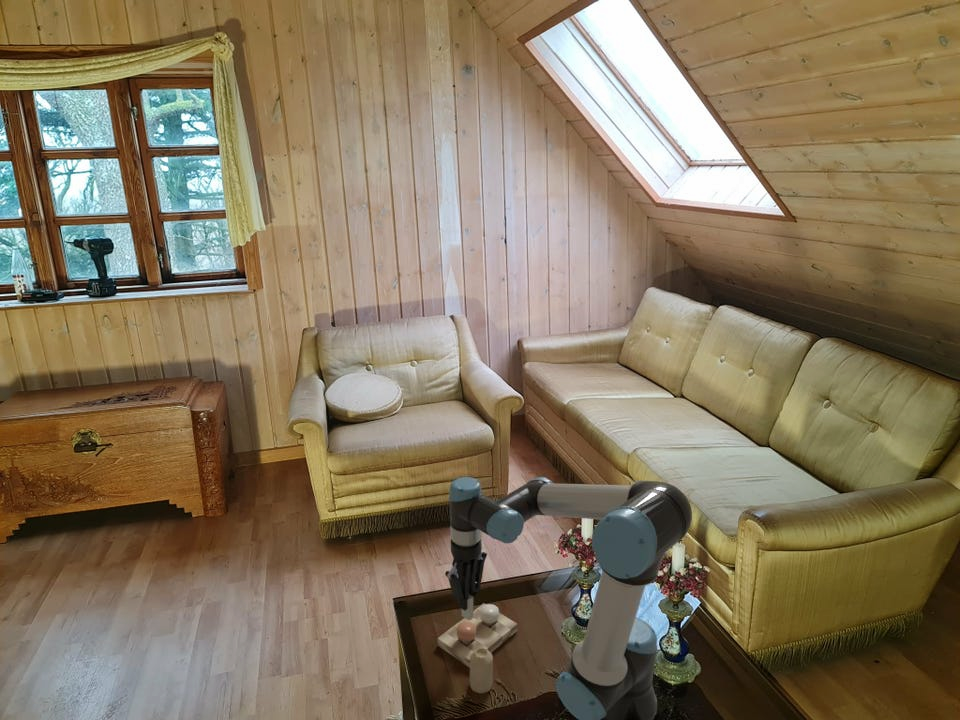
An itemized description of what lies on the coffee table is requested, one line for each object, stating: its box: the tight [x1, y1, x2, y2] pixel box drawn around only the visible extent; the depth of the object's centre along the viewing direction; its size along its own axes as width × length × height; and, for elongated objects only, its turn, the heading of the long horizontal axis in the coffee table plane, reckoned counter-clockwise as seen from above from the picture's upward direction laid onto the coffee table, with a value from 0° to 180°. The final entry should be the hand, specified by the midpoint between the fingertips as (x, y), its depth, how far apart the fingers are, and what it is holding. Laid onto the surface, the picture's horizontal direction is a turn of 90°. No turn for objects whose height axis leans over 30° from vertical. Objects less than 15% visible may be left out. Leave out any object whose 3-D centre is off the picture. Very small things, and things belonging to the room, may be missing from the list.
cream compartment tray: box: [437, 602, 518, 669], centre depth 188 cm, size 12×18×2 cm, turn 138°
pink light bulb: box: [457, 622, 476, 647], centre depth 184 cm, size 5×5×5 cm
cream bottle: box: [469, 648, 494, 694], centre depth 172 cm, size 6×6×10 cm
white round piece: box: [480, 603, 500, 628], centre depth 190 cm, size 5×5×5 cm
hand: (467, 616), depth 181 cm, fingers closed
